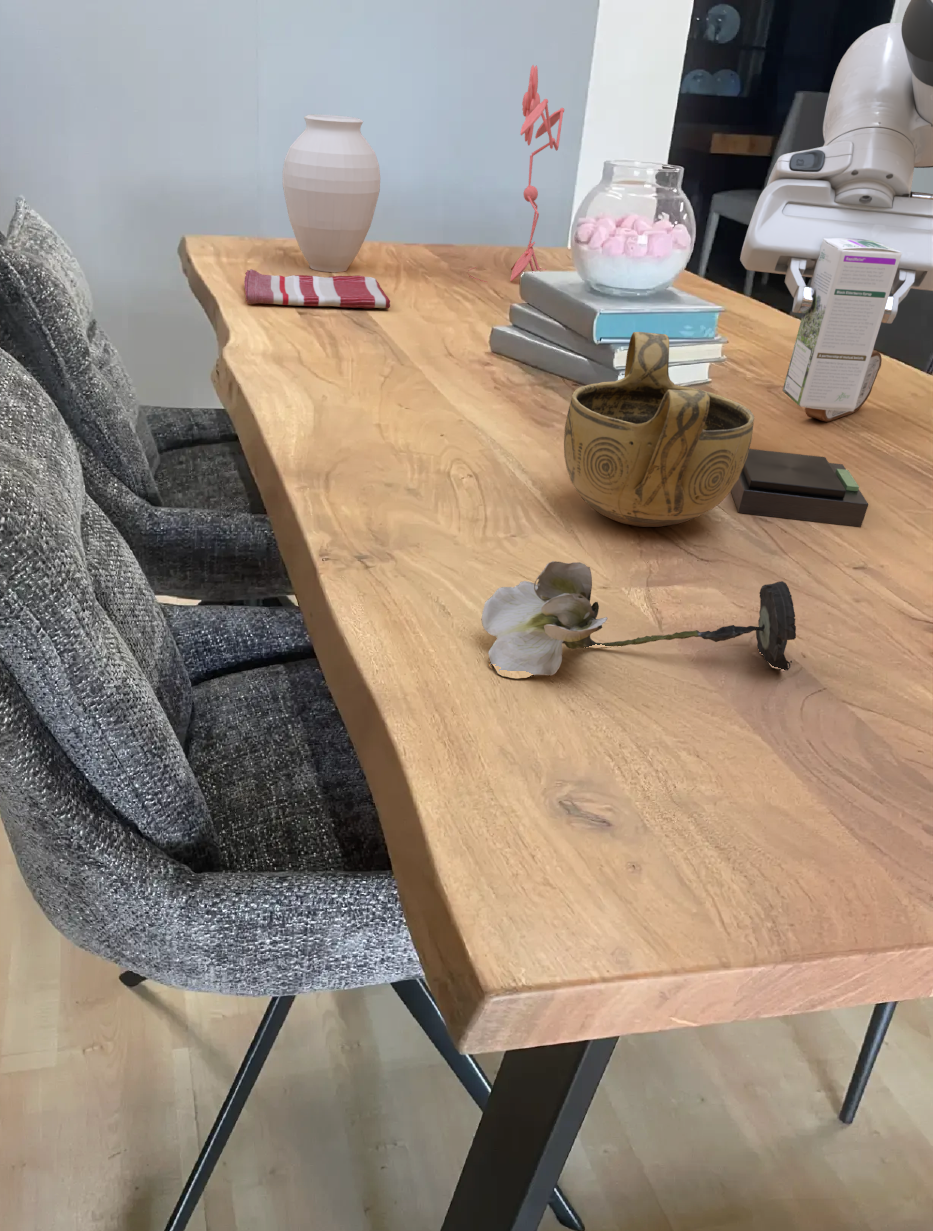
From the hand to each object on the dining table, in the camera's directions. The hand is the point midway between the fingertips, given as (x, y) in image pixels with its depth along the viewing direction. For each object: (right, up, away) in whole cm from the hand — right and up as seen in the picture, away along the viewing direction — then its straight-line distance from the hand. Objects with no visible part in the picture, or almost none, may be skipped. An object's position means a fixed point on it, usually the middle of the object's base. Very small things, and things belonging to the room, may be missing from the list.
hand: (843, 314), depth 99 cm
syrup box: (0, -7, +5) cm, 9 cm away
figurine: (-20, +49, +106) cm, 118 cm away
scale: (-1, -15, +10) cm, 18 cm away
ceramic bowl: (-18, -18, +4) cm, 26 cm away
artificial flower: (-25, -34, -22) cm, 48 cm away
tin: (+15, +1, +38) cm, 41 cm away
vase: (-54, +48, +101) cm, 124 cm away
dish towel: (-55, +33, +78) cm, 101 cm away
